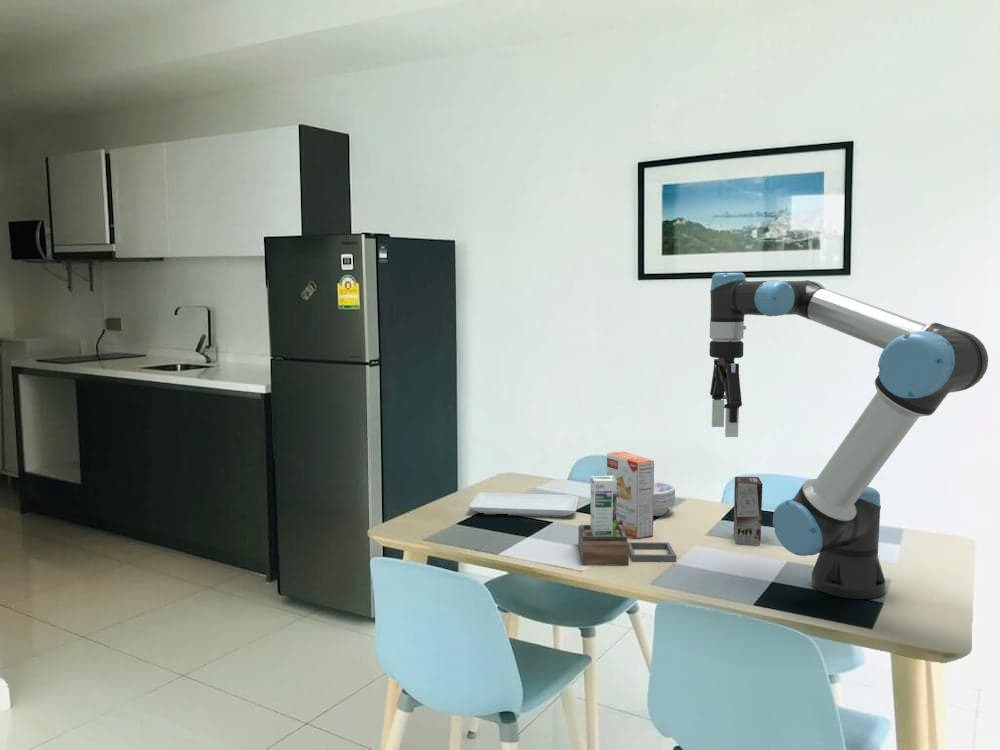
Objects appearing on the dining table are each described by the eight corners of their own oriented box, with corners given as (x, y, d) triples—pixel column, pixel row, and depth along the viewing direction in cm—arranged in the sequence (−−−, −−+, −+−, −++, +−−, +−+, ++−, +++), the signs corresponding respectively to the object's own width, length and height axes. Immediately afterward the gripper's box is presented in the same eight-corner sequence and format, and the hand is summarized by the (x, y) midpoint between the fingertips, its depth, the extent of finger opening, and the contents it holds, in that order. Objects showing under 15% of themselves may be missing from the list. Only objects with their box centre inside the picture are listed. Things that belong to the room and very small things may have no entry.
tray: (575, 521, 239) (575, 509, 239) (467, 517, 244) (467, 505, 244) (579, 506, 256) (579, 495, 256) (478, 502, 261) (478, 491, 260)
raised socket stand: (628, 565, 200) (628, 540, 200) (582, 564, 201) (582, 540, 200) (621, 544, 216) (621, 522, 216) (578, 544, 217) (578, 521, 216)
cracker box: (605, 526, 233) (605, 452, 231) (623, 523, 236) (623, 450, 234) (635, 539, 221) (636, 461, 218) (653, 536, 223) (655, 459, 221)
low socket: (676, 561, 203) (676, 555, 203) (632, 561, 203) (632, 555, 203) (668, 548, 213) (668, 542, 213) (627, 548, 214) (627, 542, 213)
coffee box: (761, 545, 215) (763, 484, 214) (735, 544, 216) (737, 483, 215) (757, 535, 224) (759, 476, 222) (732, 534, 225) (734, 475, 224)
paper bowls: (612, 509, 251) (613, 483, 250) (655, 504, 257) (656, 479, 256) (640, 522, 237) (640, 495, 236) (685, 516, 243) (685, 489, 242)
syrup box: (593, 538, 205) (593, 480, 204) (589, 531, 211) (590, 474, 210) (616, 537, 205) (617, 479, 204) (612, 530, 211) (613, 474, 210)
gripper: (758, 343, 180) (755, 441, 182) (729, 337, 205) (727, 422, 207) (722, 343, 180) (720, 441, 182) (699, 337, 205) (697, 422, 207)
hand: (724, 431), depth 194 cm, fingers open, 13 cm apart
